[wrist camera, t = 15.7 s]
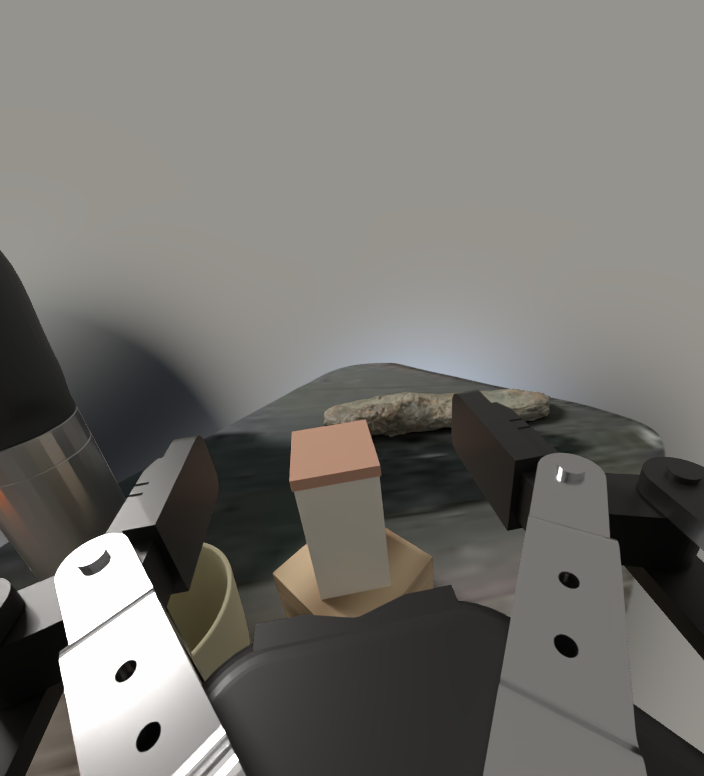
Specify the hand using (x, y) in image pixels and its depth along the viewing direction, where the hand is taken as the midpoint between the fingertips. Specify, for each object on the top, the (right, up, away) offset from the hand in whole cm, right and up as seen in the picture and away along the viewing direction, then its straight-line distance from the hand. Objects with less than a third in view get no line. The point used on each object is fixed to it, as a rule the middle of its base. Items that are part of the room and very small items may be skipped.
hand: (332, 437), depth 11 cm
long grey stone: (+14, -4, +45) cm, 47 cm away
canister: (+1, -12, +17) cm, 21 cm away
